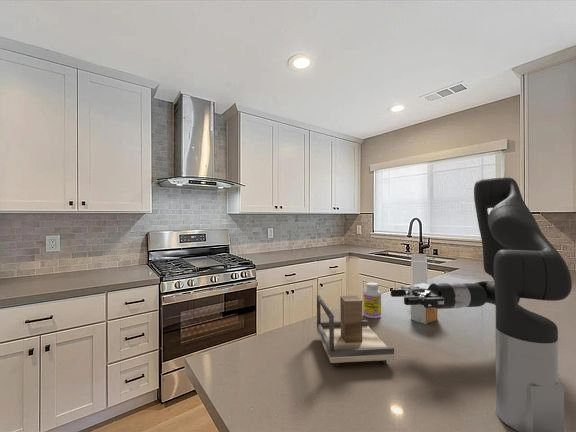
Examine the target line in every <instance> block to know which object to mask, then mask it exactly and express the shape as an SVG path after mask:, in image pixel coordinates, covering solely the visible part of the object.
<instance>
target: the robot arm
mask: <svg viewBox="0 0 576 432" xmlns="http://www.w3.org/2000/svg"><path fill="white" fill-rule="evenodd" d="M473 199H474V207H475V212H476V219H477V224H478V228H479V229H478V230H479V233H480V238H481V245H482V260H483V270H484V273H486V274H487V275H489V276H491V277H492V278H493V279H492V280H482V281H477V282H474V283H471V282H470V283H466V282H465V283H459V282H434V283H433V282H432V283H430V286H429V288H428V289H427V290H426V289H425V288H419V287H411V286H401V287H400V288H394V289H390V297H393V298H401V297H402V298H403V304H404V305H406V306H411V305H419V306H423V305H424V307H425V308H433V307H434V308H436V309H437V310H442V309H444V310H445V309H447V310H448V309H461V308H475V307H476V308H478V307H482V306H485V304H486V303H487V304H491V305H494V306H495V412H496V414H497V417H498V418H499V419H500V420H501V421H502V422H503V423H504V424H505V425H507V426H508V427H510V428H511V429H513V430H515V432H565V387H564V385H563V384H562V383H560V382H559V329H558V325H557V324H556V323H555V322H554V321H552V320H551V319H549V318H547V317H546V316H543V315H542V314H541V315H540V314H538V313H535V312H534V311H533V312H532V311H531V310H529V309H527V308H524V307H523V306H521V305H520V300H521V299H529V300H538V301H548V302H549V301H550V302H554V301H555V302H556V301H562V300H565V299H566V298H568V296H570V294H571V292H572V288H573V280H572V276H571V271H570V269H569V267H568V265H567V262H566V261H565V259H564V257H563V256H562V255H561V254H560V253H559V251H558V250H557V249H556V248H555V246H554V245H553V244H552V243H551V242H550V241H549V240H548V239H547V237H546V236H545V235H544V234H543V231H542V230H541V228H540V227H539V223H538V222H537V220H536V219H535V216H534V214H533V213H532V212H531V211H530V209H529V208H528V206H527V204H526V203H525V201H524V199H523V197H522V192H521V190H520V187H519V184H518V182H517V181H516V180H515V179H514V178H513V177H507V176H506V177H505V176H504V177H494V178H492V177H491V178H483V179H478V180H477V181H475V182H474V187H473ZM488 209H491V210H490V211H488ZM413 295H414V296H413Z"/></svg>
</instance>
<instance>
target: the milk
mask: <svg viewBox="0 0 576 432" xmlns="http://www.w3.org/2000/svg"><path fill="white" fill-rule="evenodd" d="M427 259H428V258H427V254H425V253H412V254H411V258H410V263H411V264H410V269H411V270H410V271H411V273H410V275H411V276H410V278H411V279H410V280H411V281H410V283H411V284H410V287H411V286H413V285H416V284H421V283H425V284H428V260H427Z"/></svg>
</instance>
